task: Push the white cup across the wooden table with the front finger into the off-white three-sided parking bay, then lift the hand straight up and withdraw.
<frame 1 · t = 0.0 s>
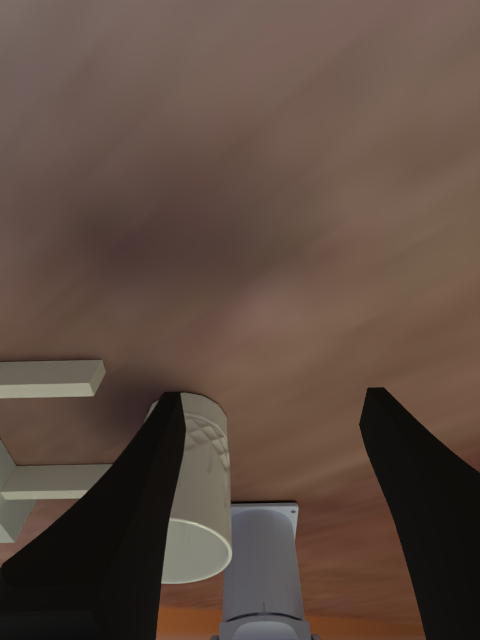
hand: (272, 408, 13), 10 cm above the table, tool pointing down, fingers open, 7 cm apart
parking bay: (56, 424, 28), on the table
white cup: (187, 419, 28), on the table
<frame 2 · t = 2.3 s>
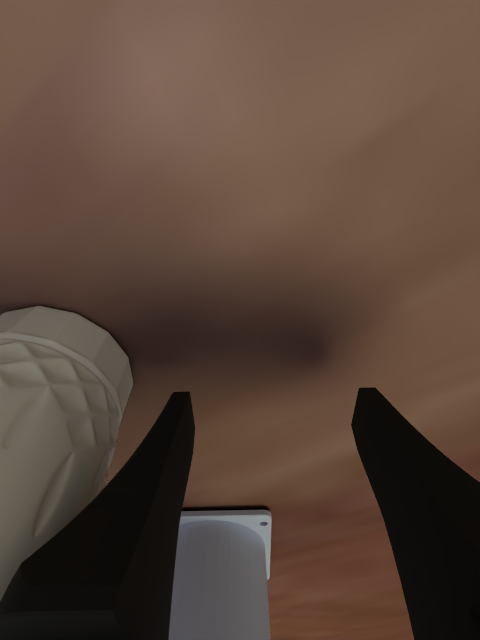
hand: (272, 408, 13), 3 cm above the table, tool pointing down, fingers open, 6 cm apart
white cup: (63, 364, 16), on the table, touching gripper
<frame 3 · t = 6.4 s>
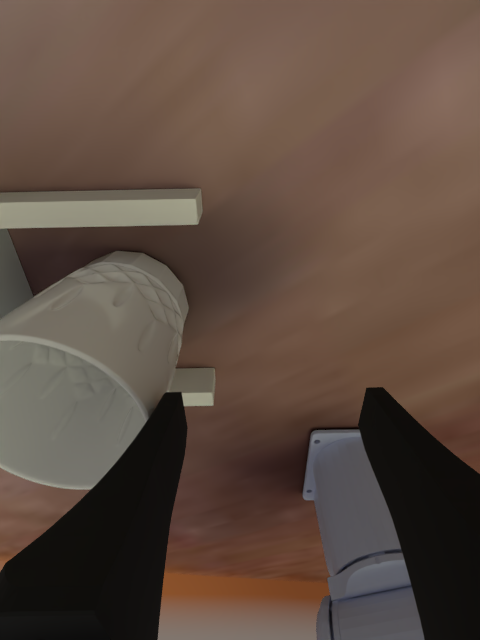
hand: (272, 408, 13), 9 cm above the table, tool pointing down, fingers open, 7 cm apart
parking bay: (122, 301, 21), on the table
white cup: (136, 300, 21), on the table, touching gripper
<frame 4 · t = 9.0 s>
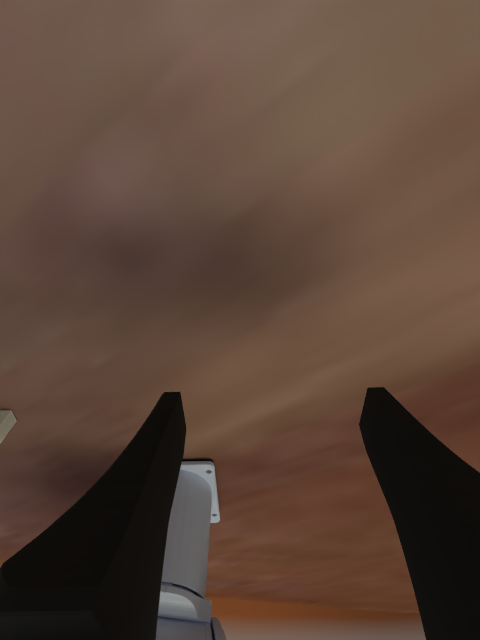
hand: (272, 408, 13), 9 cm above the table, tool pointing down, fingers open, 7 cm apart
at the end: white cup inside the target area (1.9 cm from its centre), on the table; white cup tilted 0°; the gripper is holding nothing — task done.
